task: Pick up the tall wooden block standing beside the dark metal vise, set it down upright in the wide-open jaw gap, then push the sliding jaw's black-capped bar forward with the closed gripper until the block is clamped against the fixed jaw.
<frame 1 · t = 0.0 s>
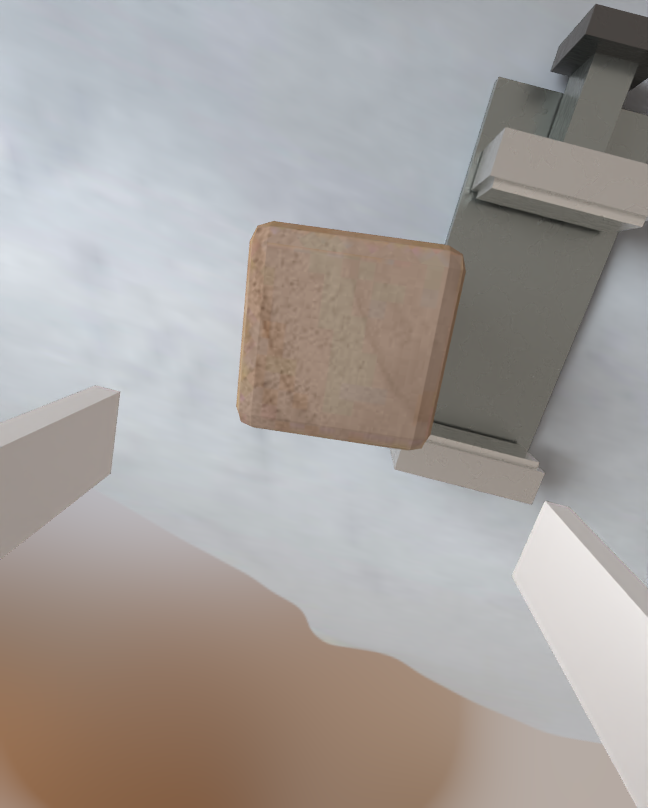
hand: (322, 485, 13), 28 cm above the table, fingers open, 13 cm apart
wooden block: (348, 314, 39), on the table
jaw: (584, 129, 31), point 4 cm above the table, slide at 0.0 cm
vise: (494, 329, 39), on the table
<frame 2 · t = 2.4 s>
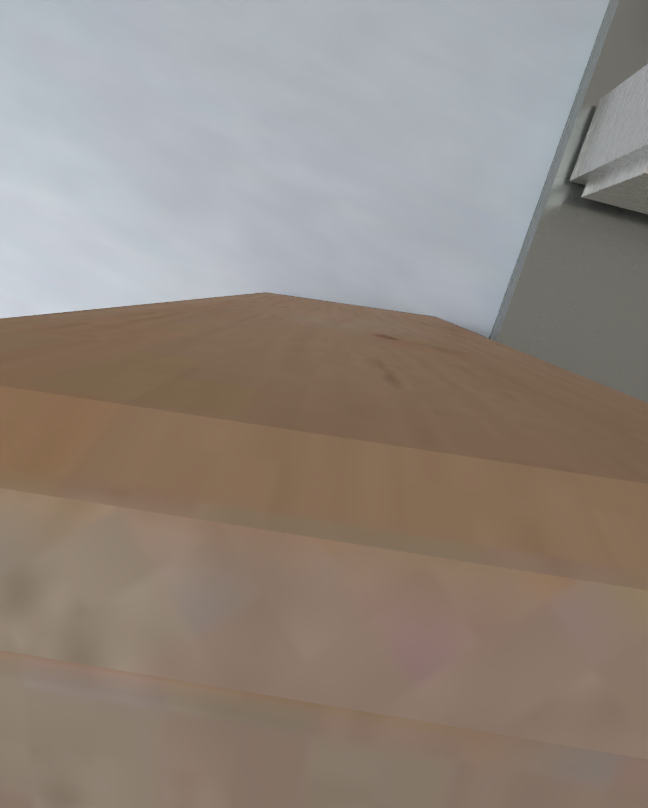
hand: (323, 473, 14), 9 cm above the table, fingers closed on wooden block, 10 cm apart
wooden block: (335, 400, 23), on the table, touching gripper
vise: (592, 427, 22), on the table
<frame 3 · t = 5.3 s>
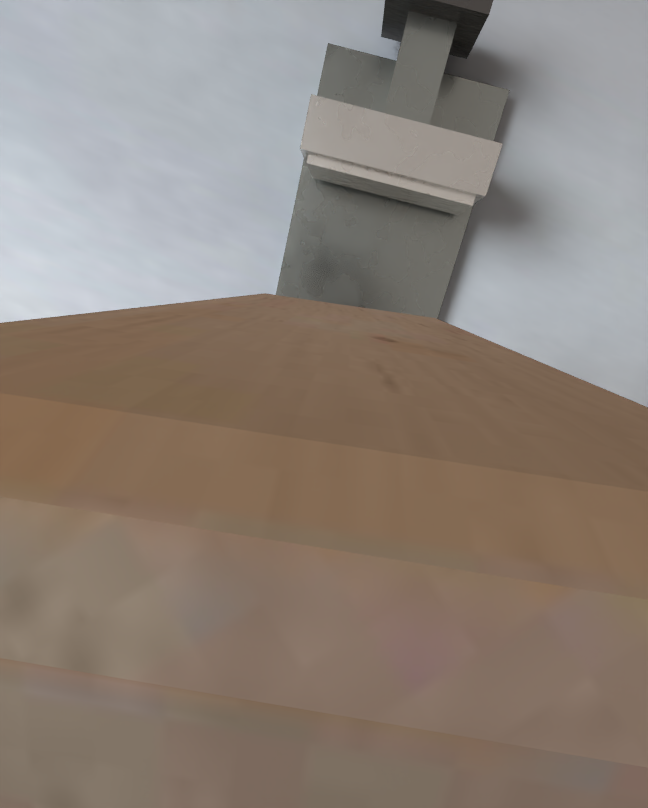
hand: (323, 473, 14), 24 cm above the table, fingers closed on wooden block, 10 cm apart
wooden block: (335, 401, 23), point 15 cm above the table, touching gripper
jaw: (411, 98, 28), point 4 cm above the table, slide at 0.0 cm
vise: (352, 321, 36), on the table
when the fingers open (11 cm above the table, at t = 8.1 s): wooden block drops 1 cm, resting on vise.
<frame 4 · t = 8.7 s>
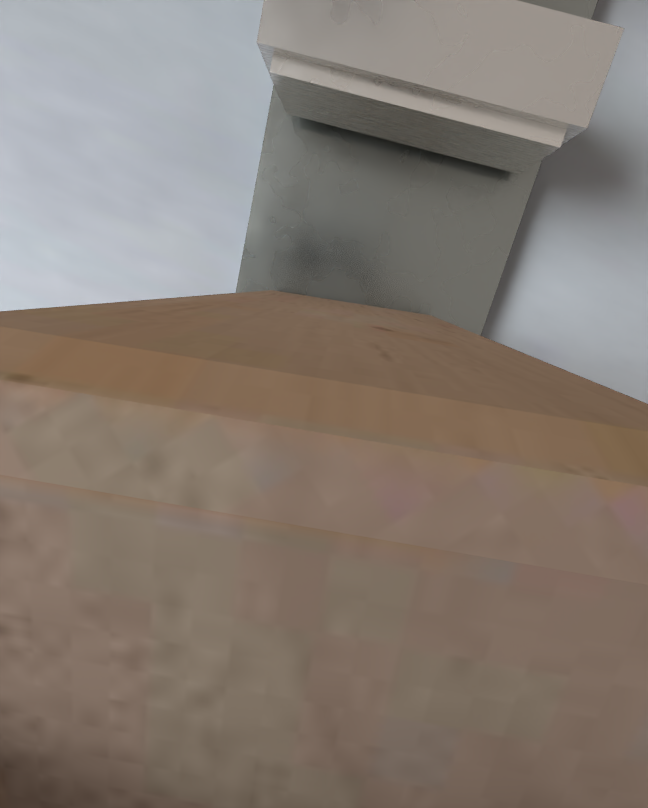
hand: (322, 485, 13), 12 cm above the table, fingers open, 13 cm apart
wooden block: (335, 392, 24), point 1 cm above the table, touching vise
vise: (350, 339, 24), on the table
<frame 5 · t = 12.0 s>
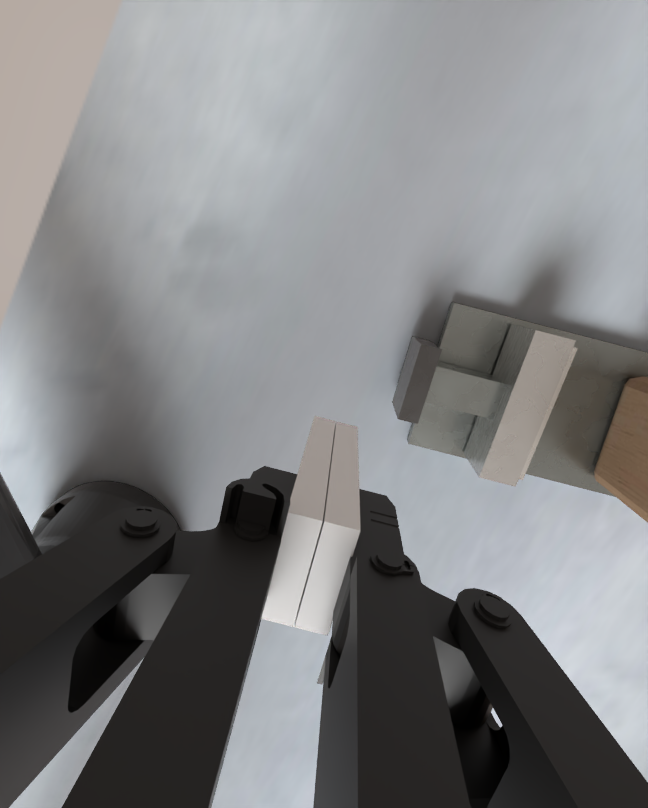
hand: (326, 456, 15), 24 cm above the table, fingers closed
jaw: (471, 392, 35), point 4 cm above the table, slide at 0.0 cm
vise: (621, 423, 39), on the table
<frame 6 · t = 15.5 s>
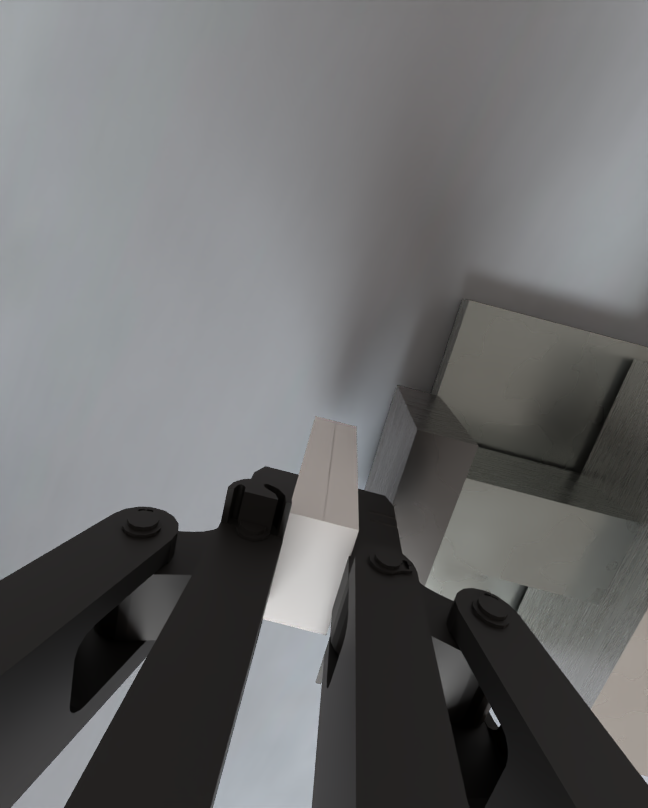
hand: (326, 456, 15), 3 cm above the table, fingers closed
jaw: (542, 531, 14), point 4 cm above the table, slide at 1.0 cm, touching gripper
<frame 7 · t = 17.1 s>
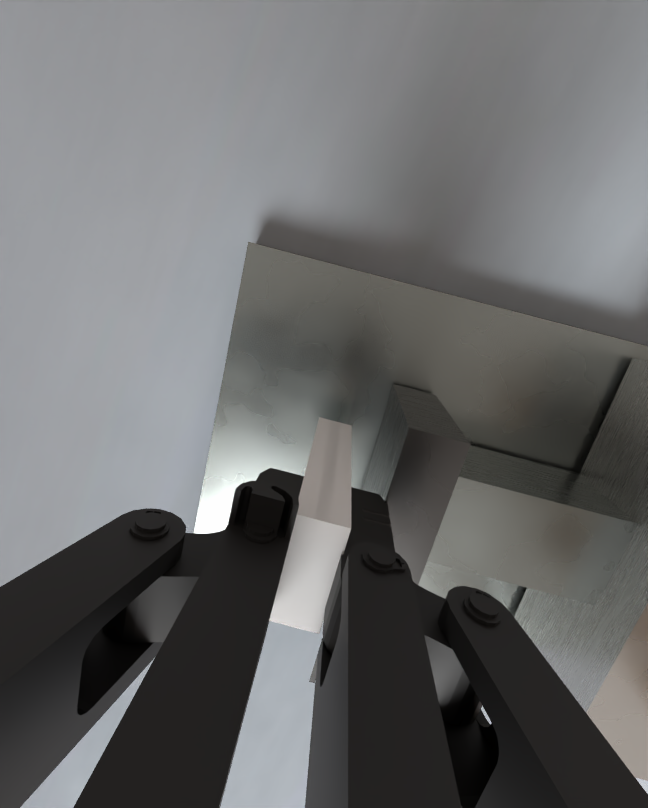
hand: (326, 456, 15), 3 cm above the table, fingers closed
jaw: (539, 531, 14), point 4 cm above the table, slide at 8.8 cm, touching gripper, wooden block
vise: (647, 518, 18), on the table
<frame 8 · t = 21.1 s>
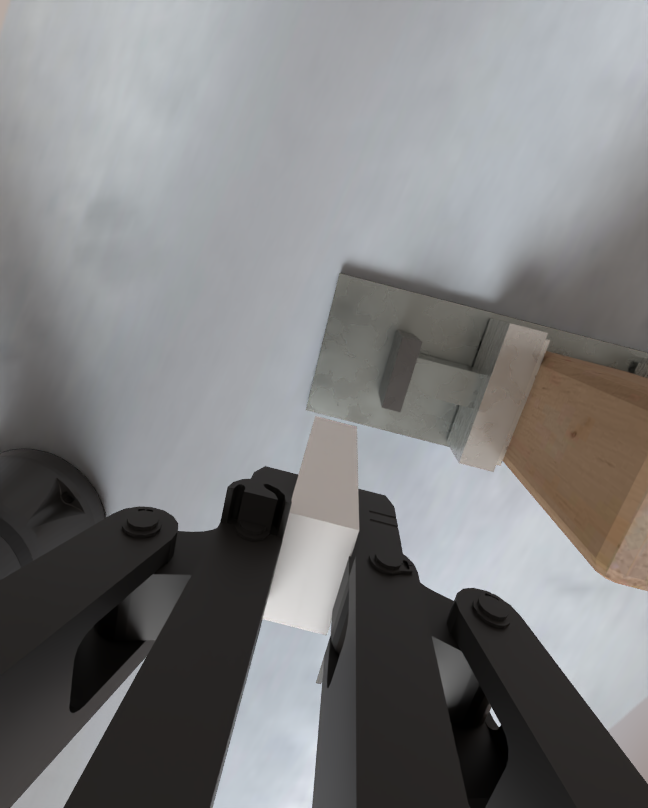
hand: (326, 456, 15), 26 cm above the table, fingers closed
wooden block: (553, 409, 40), point 1 cm above the table, touching vise
jaw: (452, 383, 37), point 4 cm above the table, slide at 8.8 cm
vise: (507, 390, 41), on the table
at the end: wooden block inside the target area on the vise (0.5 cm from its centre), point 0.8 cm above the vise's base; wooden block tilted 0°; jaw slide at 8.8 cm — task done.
